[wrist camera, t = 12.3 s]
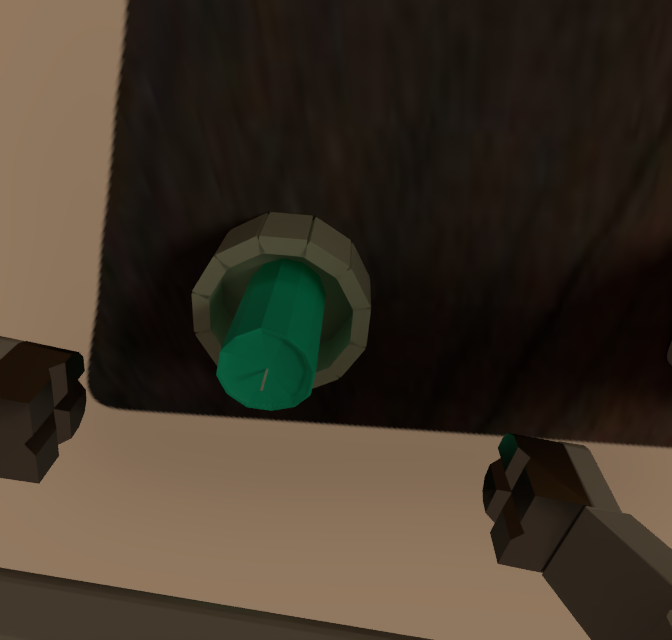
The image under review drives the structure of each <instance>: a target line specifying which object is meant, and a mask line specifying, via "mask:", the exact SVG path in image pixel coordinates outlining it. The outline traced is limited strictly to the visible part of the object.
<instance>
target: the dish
mask: <svg viewBox="0 0 672 640" xmlns="http://www.w3.org/2000/svg"><path fill="white" fill-rule="evenodd" d="M282 258H285V259H290V260H294V261H299V262H304V263H305V264H306V265H307V266H309V267H310V268H311V269H312V270H313V271H315V272H316V273H317V274H318V275H319V276H320V278H321V281H322V284H323V287H324V289H325V292H326V297H325V305H324V313H323V321H322V329H321V336H320V344H319V352H318V360H317V368H316V375H315V379H314V383H313V387H312V389H313V388H315V387H318V386H321V385H324V384H326V383H329V382H332V381H335V380H337V379H339V377H342V376H343V374H344V373H345V372H346V371H347V370H348V369H349V367H350V366H351V365H352V364H353V363H354V362H355V360H356V359H357V358H358V357H359V356H360V355H361V354H362V352H363V351H364V350H365V347H366V345H367V337H368V329H369V321H370V313H371V295H370V277H369V275H368V273H367V271H366V269H365V266H364V264H363V262H362V260H361V258H360V256H359V254H358V252H357V250H356V248H355V246H354V244H353V242H352V243H351V240H350V239H348V238H347V237H345V236H344V235H342V234H341V233H339V232H338V231H336V230H335V229H333V228H332V227H330V226H329V225H327V224H326V223H324V222H323V221H321V220H320V219H318V218H317V217H315V219H314V220H313V216H311V215H299V214H288V213H276V212H270V214H268V213H265V214H263V215H261V216H259V217H257V218H254V219H252V220H250V221H248V222H246V223H244V224H242V225H239V226H237V227H235V228H233V229H231V230H230V232H228V234H227V235H226V237H225V238H224V240H223V242H222V243H221V245H220V246H219V248H218V250H217V251H216V253H215V255H214V256H213V258H212V259H211V261H210V263H209V264H208V266H207V268H206V269H205V271H204V272H203V274H202V276H201V277H200V279H199V281H198V282H197V284H196V285H195V287H194V289H193V290H192V291H193V292H192V308H193V323H194V332H196V334H195V335H196V337H197V338H198V339H199V341H200V342H201V344H202V345H203V347H204V348H205V349H206V351H207V352H208V354H209V355H210V357H211V358H212V359H213V361H214V362H215V364H216V365H217V366H218V360H219V354H220V350H221V347H222V345H223V343H224V340H225V338H226V336H227V333H228V331H229V329H230V326H231V324H232V321H233V319H234V317H235V314H236V312H237V310H238V307H239V305H240V303H241V300H242V298H243V295H244V293H245V291H246V288H247V286H248V284H249V281H250V279H251V277H252V276H253V275H254V274H255V273H256V272H257V271H258V269H259V268H260V267H261V266H262V265H263V264H264V263H268V262H271V261H275V260H278V259H282Z"/></svg>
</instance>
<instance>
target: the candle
mask: <svg viewBox="0 0 672 640" xmlns="http://www.w3.org/2000/svg"><path fill="white" fill-rule="evenodd" d="M325 297H326V292H325V289H324V287H323V284H322V281H321V278H320V276H319V275H318V274H317V273H316V272H315V271H313V270H312V269H311V268H310V267H309V266H307V265H306V264H305V263H304V262H299V261H294V260H290V259H285V258H282V259H278V260H275V261H271V262H268V263H264V264H263V265H262V266H261V267H260V268H259V269H258V271H257V272H256V273H255V274H254V275H253V276H252V277H251V279H250V281H249V284H248V286H247V288H246V291H245V293H244V295H243V298H242V300H241V303H240V305H239V307H238V310H237V312H236V314H235V317H234V319H233V321H232V324H231V326H230V329H229V331H228V333H227V336H226V338H225V340H224V343H223V345H222V347H221V350H220V354H219V360H218V366H217V372H216V376H217V377H218V379H219V381H220V383H221V384H222V386H223V388H224V390H225V391H226V393H227V394H228V395H229V396H231V397H232V398H234V399H235V400H237V401H238V402H240V403H241V404H243V405H244V406H246V407H249V408H256V409H263V410H271V411H273V410H279V409H285V408H291V407H295V406H297V405H298V404H299V403H301V402H302V401H303V400H305V399H306V398H308V397H309V396H310V395H311V392H312V387H313V383H314V379H315V375H316V368H317V360H318V352H319V344H320V336H321V329H322V321H323V313H324V305H325Z"/></svg>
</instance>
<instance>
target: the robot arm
mask: <svg viewBox="0 0 672 640" xmlns="http://www.w3.org/2000/svg"><path fill="white" fill-rule="evenodd" d="M667 360H668V362H669V364H671V365H672V341H671V344H670V347H669V350H668V354H667ZM84 371H85V369H84V359H83V356H82V355H81V354H80V353H79V352H76V351H71V350H66V349H61V348H56V347H52V346H47V345H42V344H37V343H33V342H28V341H21V340H17V339H12V338H6V337H1V336H0V478H6V479H12V480H19V481H26V482H33V483H40V481H41V480H42V479H43V477H44V476H45V475H46V473H47V472H48V470H49V469H50V467H51V466H52V465H53V463H54V462H55V461H56V459H57V458H58V456H59V452H58V444H61V443H63V442H65V441H67V440H69V439H71V438H72V436H73V435H74V433H75V432H76V430H77V429H78V428H79V425H80V423H81V420H82V418H83V415H84V412H85V405H86V389H85V388H84V387H83V386H82V384H81V383H80V382H79V381H78V379H79V378H80V376H81V375H82V374H83V372H84ZM498 450H499V453H500V456H501V458H500V459H498V460H497V461H495V462H493V463H492V464H490V466H489V468H488V470H487V473H486V475H485V479H484V485H483V503H484V508H485V513H486V514H487V515H488V516H489V517H490V518H491V519H492V520H493V521H494V522H495V524H494V526H493V528H492V530H491V532H490V534H491V538H492V542H493V546H494V550H495V554H496V558H497V563H498V564H502V565H507V566H511V567H517V568H521V569H526V570H531V571H536V572H541V573H543V574H542V576H543V577H544V578H545V579H546V581H547V582H548V584H549V585H550V586H551V587H552V589H553V590H554V591H555V593H556V594H557V595H558V597H559V598H560V599H561V601H562V602H563V603H564V605H565V606H566V607H567V608H568V610H569V611H570V612H571V614H572V615H573V616H574V618H575V619H576V620H577V622H578V623H579V624H580V626H581V627H582V628H583V630H584V631H585V632H586V634H587V635H588V636H589V637H590V639H591V640H672V549H671V548H669V547H668V546H667V545H666V544H665V543H664V542H662V541H661V540H660V539H659V538H658V537H656V536H655V535H654V534H653V533H652V532H650V531H649V530H648V529H647V528H646V527H644V526H643V525H642V524H641V523H640V522H639V521H637V520H636V519H635V518H634V517H633V516H632V515H630V514H626V513H622V512H621V510H620V508H619V506H618V504H617V502H616V500H615V498H614V496H613V494H612V492H611V490H610V489H609V486H608V485H607V483H606V481H605V479H604V477H603V475H602V473H601V471H600V469H599V467H598V465H597V463H596V462H595V459H594V457H593V455H592V454H591V452H590V450H589V449H588V448H586V447H585V446H584V445H578V444H572V443H565V442H555V441H549V440H544V439H538V438H533V437H527V436H522V435H516V434H511V433H507V434H506V435H505V436H504V437H503V438H502V441H501V443H500V445H499V447H498ZM0 640H431V639H426V638H420V637H413V636H407V635H400V634H395V633H389V632H383V631H377V630H371V629H365V628H359V627H353V626H347V625H341V624H335V623H329V622H323V621H317V620H311V619H305V618H299V617H293V616H287V615H281V614H275V613H269V612H263V611H257V610H251V609H245V608H239V607H233V606H227V605H221V604H215V603H209V602H203V601H197V600H191V599H185V598H179V597H173V596H167V595H161V594H155V593H149V592H144V591H137V590H132V589H126V588H119V587H113V586H108V585H101V584H96V583H89V582H83V581H78V580H71V579H66V578H59V577H53V576H47V575H41V574H35V573H29V572H23V571H17V570H11V569H5V568H0Z"/></svg>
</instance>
